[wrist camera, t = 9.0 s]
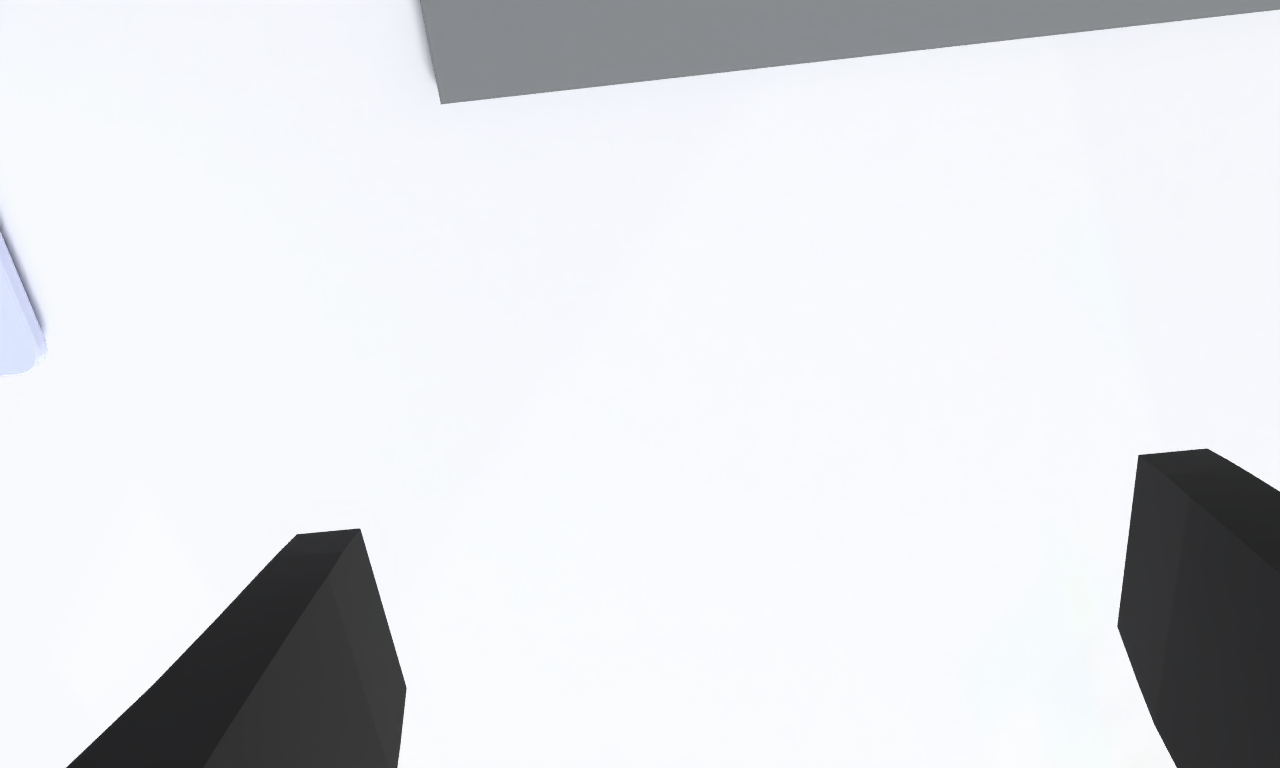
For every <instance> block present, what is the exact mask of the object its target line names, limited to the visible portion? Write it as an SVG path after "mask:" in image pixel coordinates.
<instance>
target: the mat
mask: <svg viewBox="0 0 1280 768" xmlns="http://www.w3.org/2000/svg"><path fill="white" fill-rule="evenodd" d="M420 2H421V7H422V12H423V17H424V22H425V27H426V32H427V37H428V42H429V47H430V52H431V57H432V62H433V67H434V72H435V77H436V82H437V87H438V92H439V97H440V102H441V104H447V103H456V102H465V101H474V100H482V99H491V98H500V97H509V96H518V95H527V94H536V93H544V92H553V91H562V90H571V89H580V88H589V87H598V86H606V85H615V84H624V83H633V82H642V81H651V80H659V79H668V78H677V77H686V76H695V75H704V74H713V73H721V72H730V71H739V70H748V69H757V68H766V67H775V66H783V65H792V64H801V63H810V62H819V61H828V60H837V59H845V58H854V57H863V56H872V55H881V54H890V53H898V52H907V51H916V50H925V49H934V48H943V47H952V46H960V45H969V44H978V43H987V42H996V41H1005V40H1014V39H1022V38H1031V37H1040V36H1049V35H1058V34H1067V33H1076V32H1084V31H1093V30H1102V29H1111V28H1120V27H1129V26H1137V25H1146V24H1155V23H1164V22H1173V21H1182V20H1191V19H1199V18H1208V17H1217V16H1226V15H1235V14H1244V13H1253V12H1261V11H1270V10H1279V9H1280V0H420Z"/></svg>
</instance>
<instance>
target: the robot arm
mask: <svg viewBox="0 0 1280 768" xmlns="http://www.w3.org/2000/svg"><path fill="white" fill-rule="evenodd" d="M46 352H47V345H46V340H45V338H44V335H43V333H42V330H41V328H40V326H39V323H38V321H37V318H36V316H35V314H34V311H33V309H32V306H31V304H30V302H29V299H28V297H27V294H26V292H25V290H24V287H23V285H22V282H21V280H20V278H19V275H18V273H17V270H16V268H15V266H14V263H13V261H12V258H11V256H10V254H9V251H8V249H7V246H6V244H5V242H4V239H3V237H2V235H1V232H0V377H4V376H13V375H22V374H25V373H29V372H31V371H32V370H34V369H35V368H36V367H37V366H38V365H39V364H40V362H41V361H42V360H43V359H44V358H45V355H46ZM1118 629H1119V632H1120V635H1121V637H1122V640H1123V643H1124V646H1125V649H1126V651H1127V654H1128V657H1129V660H1130V662H1131V665H1132V668H1133V671H1134V673H1135V676H1136V679H1137V682H1138V684H1139V687H1140V689H1141V692H1142V694H1143V697H1144V699H1145V702H1146V704H1147V707H1148V709H1149V712H1150V714H1151V717H1152V720H1153V722H1154V725H1155V726H1156V728H1157V730H1158V732H1159V734H1160V736H1161V738H1162V740H1163V742H1164V744H1165V746H1166V748H1167V750H1168V752H1169V753H1170V755H1171V757H1172V759H1173V761H1174V763H1175V765H1176V767H1177V768H1280V491H1278V490H1276V489H1275V488H1273V487H1271V486H1270V485H1268V484H1267V483H1265V482H1263V481H1262V480H1260V479H1259V478H1257V477H1255V476H1254V475H1252V474H1250V473H1249V472H1247V471H1245V470H1244V469H1242V468H1241V467H1239V466H1237V465H1235V464H1234V463H1232V462H1230V461H1229V460H1227V459H1225V458H1223V457H1222V456H1220V455H1218V454H1216V453H1214V452H1212V451H1211V450H1209V449H1198V450H1187V451H1177V452H1166V453H1155V454H1145V455H1138V464H1137V472H1136V480H1135V488H1134V496H1133V504H1132V512H1131V520H1130V528H1129V536H1128V545H1127V553H1126V561H1125V569H1124V577H1123V585H1122V593H1121V601H1120V609H1119V618H1118ZM405 697H406V685H405V681H404V678H403V674H402V671H401V667H400V664H399V660H398V657H397V654H396V650H395V647H394V643H393V640H392V636H391V633H390V629H389V626H388V623H387V619H386V616H385V612H384V609H383V605H382V602H381V598H380V595H379V592H378V588H377V585H376V581H375V578H374V574H373V571H372V567H371V564H370V561H369V557H368V554H367V550H366V547H365V543H364V540H363V536H362V533H361V530H360V529H349V530H339V531H328V532H317V533H307V534H297V535H296V536H295V537H294V538H293V539H292V540H291V541H290V542H289V543H288V544H287V545H286V546H285V547H284V548H283V549H282V550H281V551H280V552H279V553H278V554H277V555H276V556H275V557H274V558H273V559H272V560H271V561H270V562H269V563H268V564H267V565H266V567H265V568H264V569H263V570H262V571H261V572H260V573H259V574H258V575H257V576H256V577H255V578H254V579H253V580H252V581H251V583H250V584H249V585H248V586H247V587H246V588H245V589H244V590H243V591H242V592H241V593H240V594H239V595H238V596H237V598H236V599H235V600H234V601H233V602H232V603H231V604H230V605H229V606H228V607H227V608H226V609H225V610H224V611H223V613H222V614H221V615H220V616H219V617H218V618H217V619H216V620H215V621H214V622H213V623H212V624H211V625H210V626H209V627H208V628H207V629H206V630H205V631H204V633H203V634H202V635H201V636H200V637H199V638H198V639H197V640H196V641H195V642H194V643H193V644H192V645H191V646H190V647H189V648H188V649H187V650H186V651H185V652H184V653H183V654H182V655H181V656H180V657H179V659H178V660H177V661H176V662H175V663H174V664H173V665H172V666H171V667H170V668H169V669H168V670H167V671H166V672H165V673H164V674H163V675H162V676H161V677H160V678H159V679H158V680H157V681H156V682H155V683H154V684H153V685H152V686H151V687H150V688H149V689H148V690H147V691H146V692H145V693H144V694H143V695H142V696H141V697H140V698H139V699H138V700H137V701H136V702H135V703H134V704H133V705H132V706H130V707H129V708H128V709H127V710H126V711H125V712H124V713H123V714H122V715H121V716H120V717H119V718H118V719H117V720H116V721H115V722H114V723H113V724H112V725H111V726H109V727H108V728H107V729H106V730H105V731H104V732H103V733H102V734H101V735H100V736H99V737H98V738H97V739H96V740H95V741H94V742H93V743H92V744H91V745H90V746H89V747H87V748H86V749H85V750H84V751H83V752H82V753H81V754H80V755H79V756H78V757H77V758H76V759H75V760H74V761H73V762H72V763H71V764H70V765H69V766H68V767H66V768H397V766H398V758H399V751H400V743H401V734H402V725H403V716H404V706H405Z"/></svg>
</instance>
